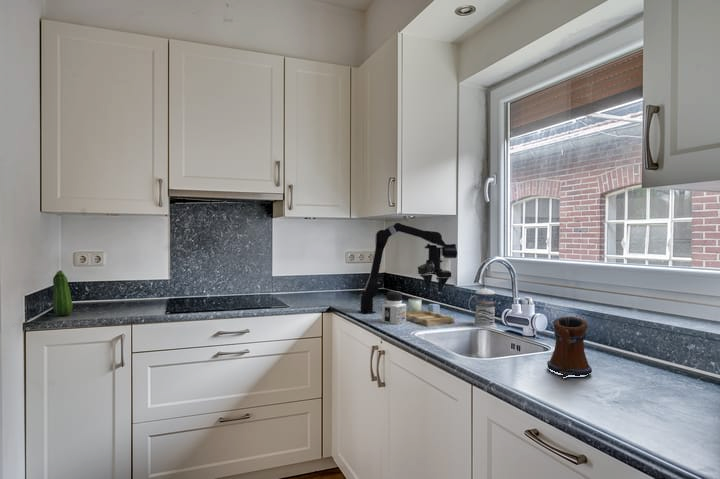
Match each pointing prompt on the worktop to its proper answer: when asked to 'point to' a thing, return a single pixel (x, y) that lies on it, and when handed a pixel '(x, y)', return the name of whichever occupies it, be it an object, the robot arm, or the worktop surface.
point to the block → (434, 308)
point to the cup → (414, 305)
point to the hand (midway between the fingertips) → (433, 290)
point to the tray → (428, 318)
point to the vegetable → (61, 295)
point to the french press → (485, 306)
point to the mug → (569, 347)
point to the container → (394, 309)
